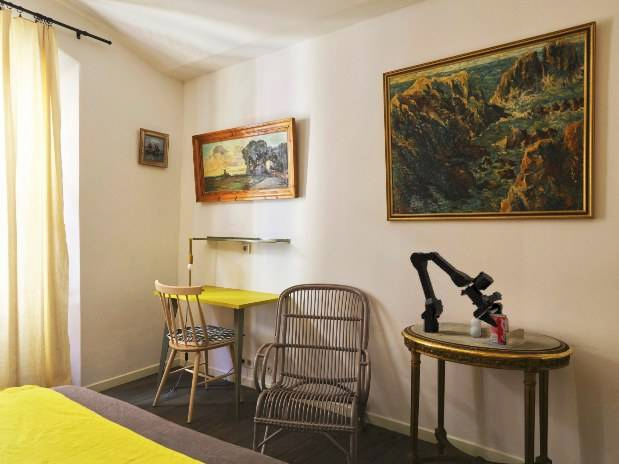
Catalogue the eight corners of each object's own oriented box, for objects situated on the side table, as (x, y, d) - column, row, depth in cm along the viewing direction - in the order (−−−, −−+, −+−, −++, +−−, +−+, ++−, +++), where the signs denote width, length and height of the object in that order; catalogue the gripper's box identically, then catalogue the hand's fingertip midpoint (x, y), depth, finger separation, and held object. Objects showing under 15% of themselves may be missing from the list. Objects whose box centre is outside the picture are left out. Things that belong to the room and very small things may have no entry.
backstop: (506, 347, 182) (506, 333, 182) (519, 342, 192) (519, 328, 192) (511, 348, 181) (511, 333, 181) (524, 342, 190) (524, 329, 190)
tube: (483, 330, 198) (483, 320, 222) (471, 325, 200) (472, 316, 224) (479, 341, 199) (479, 329, 222) (467, 336, 201) (468, 325, 224)
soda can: (509, 342, 189) (509, 314, 189) (507, 345, 183) (507, 317, 183) (492, 340, 193) (492, 313, 193) (489, 343, 187) (489, 315, 187)
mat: (482, 343, 189) (482, 342, 189) (492, 339, 196) (492, 338, 196) (505, 347, 182) (505, 346, 182) (515, 343, 189) (515, 342, 189)
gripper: (480, 287, 185) (506, 316, 177) (498, 284, 198) (524, 311, 190) (462, 303, 191) (487, 333, 183) (481, 299, 204) (505, 327, 196)
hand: (501, 325), depth 188 cm, fingers open, 9 cm apart
